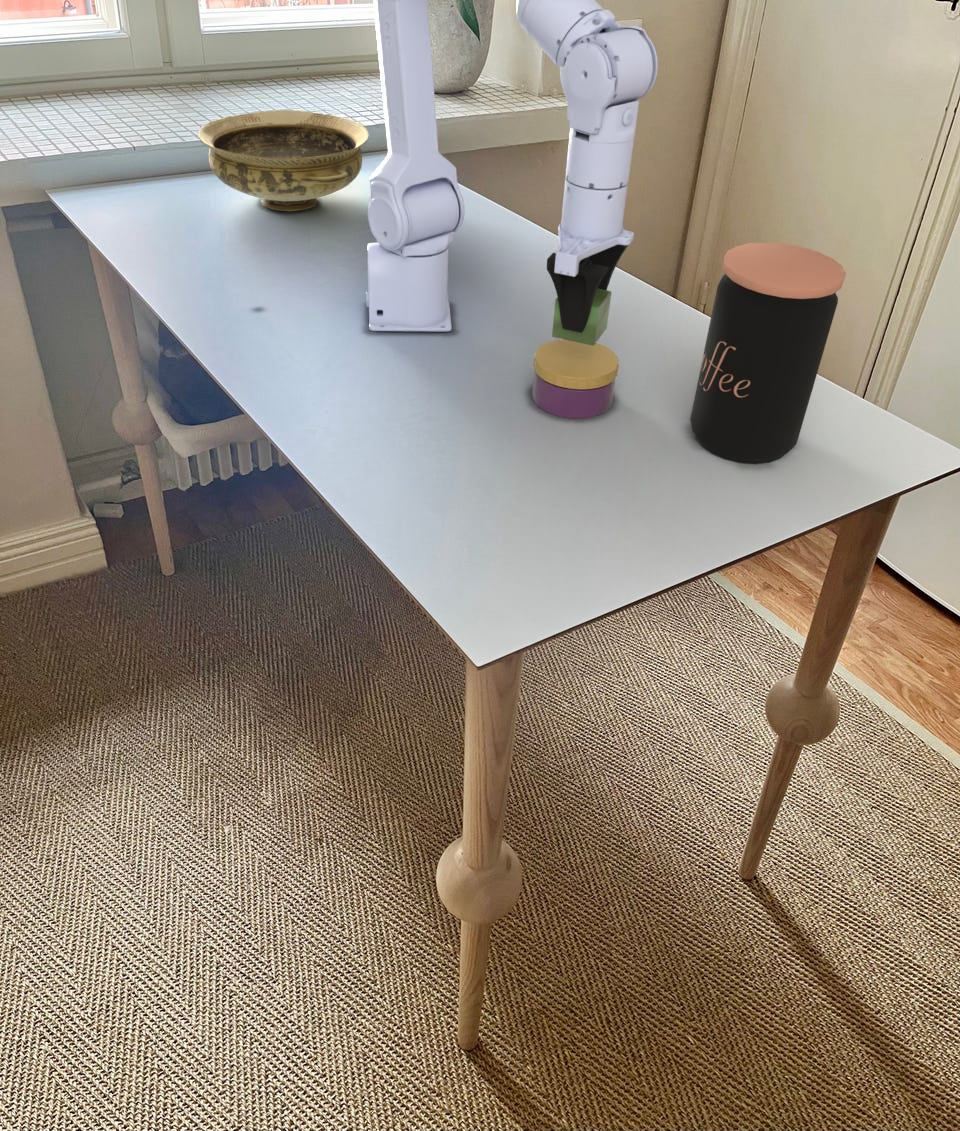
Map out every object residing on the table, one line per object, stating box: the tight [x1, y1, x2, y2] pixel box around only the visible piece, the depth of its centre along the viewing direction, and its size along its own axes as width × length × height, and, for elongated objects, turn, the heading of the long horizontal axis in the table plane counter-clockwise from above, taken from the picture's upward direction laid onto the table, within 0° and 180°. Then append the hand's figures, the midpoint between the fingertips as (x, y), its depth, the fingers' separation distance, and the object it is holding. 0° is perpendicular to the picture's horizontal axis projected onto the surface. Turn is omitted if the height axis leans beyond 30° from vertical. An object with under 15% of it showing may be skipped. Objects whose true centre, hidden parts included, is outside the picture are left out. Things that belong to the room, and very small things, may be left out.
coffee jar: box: [689, 241, 847, 465], centre depth 92 cm, size 11×11×18 cm
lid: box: [532, 338, 620, 389], centre depth 100 cm, size 9×9×1 cm
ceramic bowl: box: [197, 109, 370, 212], centre depth 141 cm, size 30×24×10 cm
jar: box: [531, 370, 616, 420], centre depth 101 cm, size 8×8×4 cm
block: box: [551, 289, 612, 346], centre depth 97 cm, size 4×4×4 cm
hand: (580, 319), depth 97 cm, fingers closed on block, 4 cm apart
